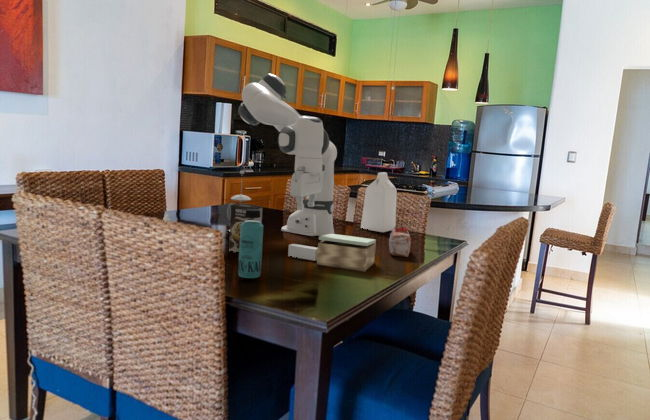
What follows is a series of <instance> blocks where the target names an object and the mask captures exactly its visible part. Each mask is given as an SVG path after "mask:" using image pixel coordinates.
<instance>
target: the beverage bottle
mask: <svg viewBox="0 0 650 420" xmlns="http://www.w3.org/2000/svg"><path fill="white" fill-rule="evenodd" d="M245 217H248V218H260V210H258V209H246V213H245ZM263 237H264V224H263V223H262V224H261V223H260V222H259V221H253V220H247V221H244V222H243V223H242V224H241V231H240V244H239V245H240V246H239V253H238V260H237V261H238V262H237V273H238V277H240V278H243V279H256V278H259V277H261V274H262V268H263V267H262V262H263V259H262V258H263V242H264V241H263V240H264V239H263Z"/></svg>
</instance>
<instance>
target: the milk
mask: <svg viewBox="0 0 650 420" xmlns="http://www.w3.org/2000/svg"><path fill="white" fill-rule="evenodd" d="M397 193H398V192H397V188H396V186H395V185H394V184H393V183H392V182H391V180H390V178H389V177H388V173H387V172H384V171H383V172H378V173H377V177H376V179H374V181H371V183H369V185H367V187H366V188H365V192H364V200H363V208H362V214H361V222H360V229H362V228H363V230H367V229H368V231H374V232H379V233H386V232H390V231H392V230H393V229H394V227H395V228H396V219H397V218H396V217H397V199H398V198H397Z"/></svg>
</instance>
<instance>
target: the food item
mask: <svg viewBox="0 0 650 420" xmlns="http://www.w3.org/2000/svg"><path fill="white" fill-rule="evenodd" d="M411 240H412V237H411V235H410V232H409V230H408V228H405V227H403V226H400V227H396V226H395V227H394V229H393V230H391V232H390V233H389V239H388V249H389V253H390V254H391V255H392V256H395V257H402V258H403V257H404V258H408V257H409V255H410V252H411V244H412V241H411Z"/></svg>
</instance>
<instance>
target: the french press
mask: <svg viewBox="0 0 650 420" xmlns="http://www.w3.org/2000/svg"><path fill="white" fill-rule="evenodd" d="M239 174H240V175H244V174H245V171H244V170H240V171H239ZM240 186H241V187H240V194H236V195H233V196H231V197H230V200H231V201H236V202H237V201H238V202H247V201H251V200H252V198H251V197H249V196H247V195H244V194H242V190H243V179H241V184H240ZM236 202H235V203H233V202H231V204H229V205H228V206H227V211H226V214H227V215H226V216H227V218H228V220H229V221H230V217H231V210H230V211H229V207H231V205H232V204H237V203H236ZM229 212H230V214H229ZM229 216H230V217H229ZM227 231H229V232H230V228H229V229H228V230H227Z"/></svg>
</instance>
